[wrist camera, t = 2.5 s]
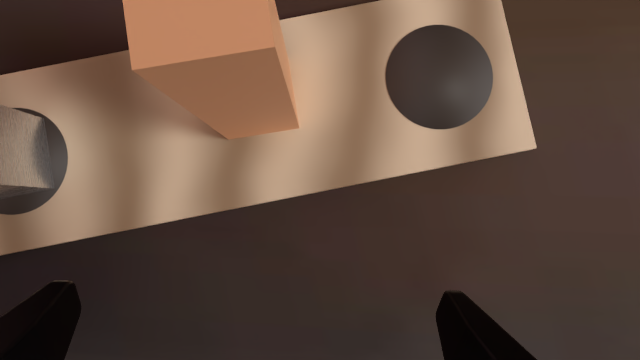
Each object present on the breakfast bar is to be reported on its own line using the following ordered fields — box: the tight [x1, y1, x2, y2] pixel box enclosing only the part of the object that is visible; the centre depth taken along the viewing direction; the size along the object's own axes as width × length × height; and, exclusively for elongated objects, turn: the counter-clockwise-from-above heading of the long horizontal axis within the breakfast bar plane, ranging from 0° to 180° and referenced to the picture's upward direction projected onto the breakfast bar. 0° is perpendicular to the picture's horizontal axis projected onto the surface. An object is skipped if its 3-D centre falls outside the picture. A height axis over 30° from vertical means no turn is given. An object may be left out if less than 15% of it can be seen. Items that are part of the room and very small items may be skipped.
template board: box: [0, 0, 537, 256], centre depth 22 cm, size 33×10×1 cm, turn 101°
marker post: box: [123, 0, 299, 140], centre depth 16 cm, size 4×4×11 cm
